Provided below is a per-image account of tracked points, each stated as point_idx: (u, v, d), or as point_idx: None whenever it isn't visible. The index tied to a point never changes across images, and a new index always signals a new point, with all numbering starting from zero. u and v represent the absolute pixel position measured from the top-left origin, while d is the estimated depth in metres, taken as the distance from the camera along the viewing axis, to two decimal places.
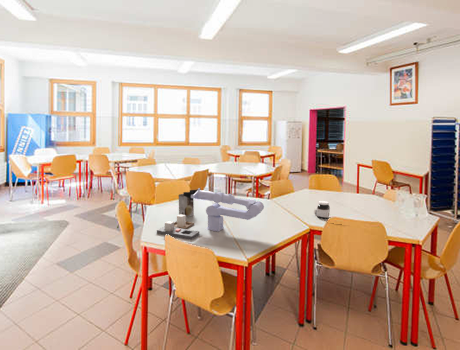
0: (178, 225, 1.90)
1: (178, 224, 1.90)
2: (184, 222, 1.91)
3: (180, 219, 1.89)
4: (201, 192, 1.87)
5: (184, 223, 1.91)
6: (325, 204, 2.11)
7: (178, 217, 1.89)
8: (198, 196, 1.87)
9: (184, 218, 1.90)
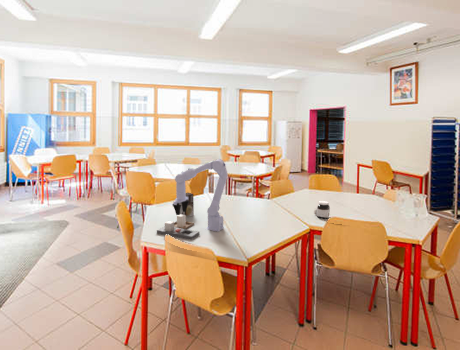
0: (178, 225, 1.90)
1: (178, 224, 1.90)
2: (184, 222, 1.91)
3: (180, 219, 1.89)
4: (176, 195, 1.88)
5: (184, 223, 1.91)
6: (325, 204, 2.11)
7: (178, 217, 1.89)
8: (179, 198, 1.86)
9: (184, 218, 1.90)
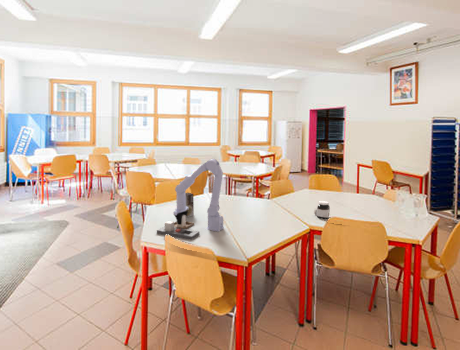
0: (178, 225, 1.90)
1: (178, 224, 1.90)
2: (184, 222, 1.91)
3: None
4: None
5: (184, 223, 1.91)
6: (325, 204, 2.11)
7: None
8: (179, 209, 1.87)
9: (184, 218, 1.90)
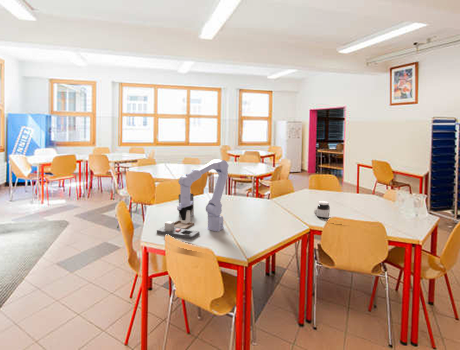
0: (182, 221, 1.75)
1: (182, 220, 1.75)
2: (188, 218, 1.76)
3: None
4: None
5: (188, 219, 1.76)
6: (325, 204, 2.11)
7: None
8: (183, 203, 1.72)
9: (188, 213, 1.75)
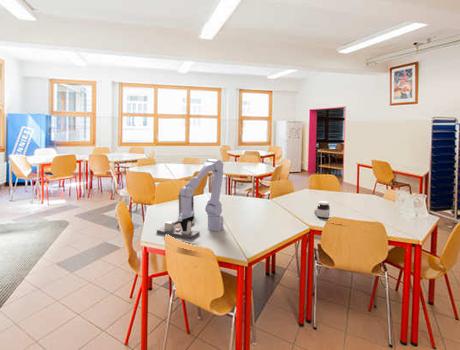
0: (183, 232, 1.74)
1: (183, 231, 1.73)
2: (189, 229, 1.74)
3: None
4: None
5: (189, 230, 1.75)
6: (325, 204, 2.11)
7: None
8: (184, 214, 1.70)
9: (189, 224, 1.74)
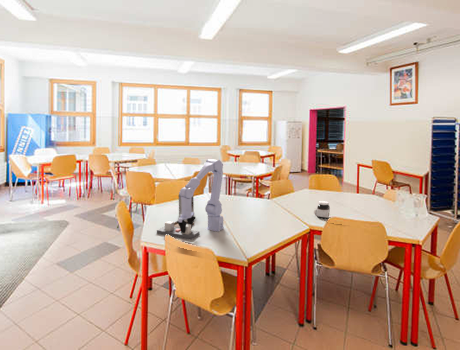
0: None
1: None
2: (190, 232, 1.75)
3: None
4: None
5: (189, 233, 1.75)
6: (325, 204, 2.11)
7: None
8: (184, 215, 1.71)
9: (189, 228, 1.74)
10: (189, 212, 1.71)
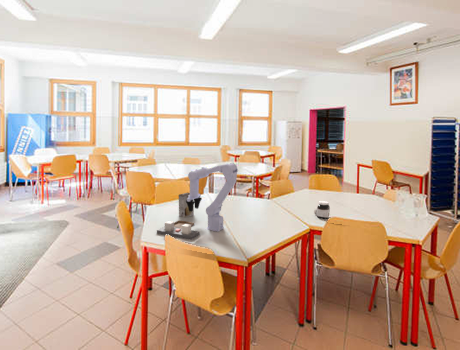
0: None
1: None
2: (190, 232, 1.75)
3: (185, 229, 1.73)
4: None
5: (189, 233, 1.75)
6: (325, 204, 2.11)
7: (183, 227, 1.73)
8: (192, 195, 1.89)
9: (189, 228, 1.74)
10: (196, 193, 1.90)
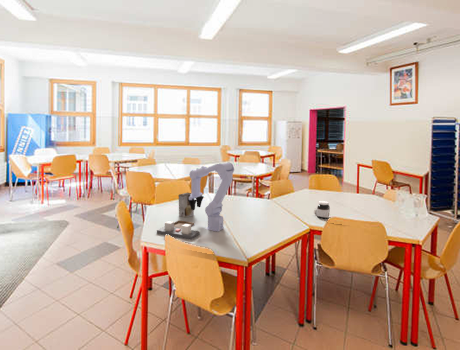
0: None
1: None
2: (190, 232, 1.75)
3: (185, 229, 1.73)
4: None
5: (189, 233, 1.75)
6: (325, 204, 2.11)
7: (183, 227, 1.73)
8: (194, 194, 1.93)
9: (189, 228, 1.74)
10: (198, 191, 1.94)
